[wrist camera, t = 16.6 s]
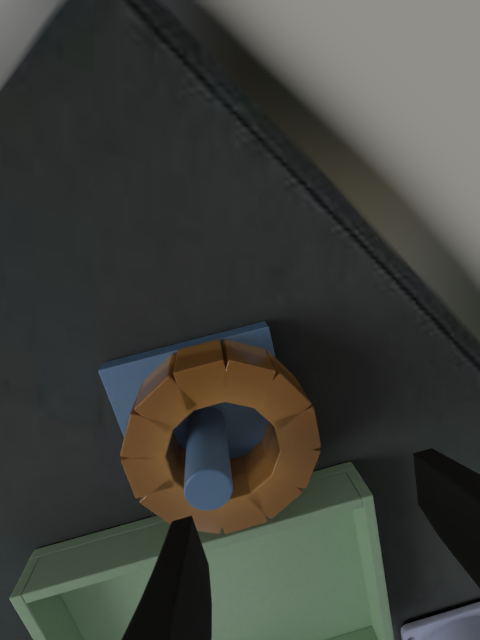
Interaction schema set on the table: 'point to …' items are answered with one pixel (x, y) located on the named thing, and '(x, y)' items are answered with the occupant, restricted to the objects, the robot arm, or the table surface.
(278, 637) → the tray
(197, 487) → the post
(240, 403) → the ring
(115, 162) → the table surface
